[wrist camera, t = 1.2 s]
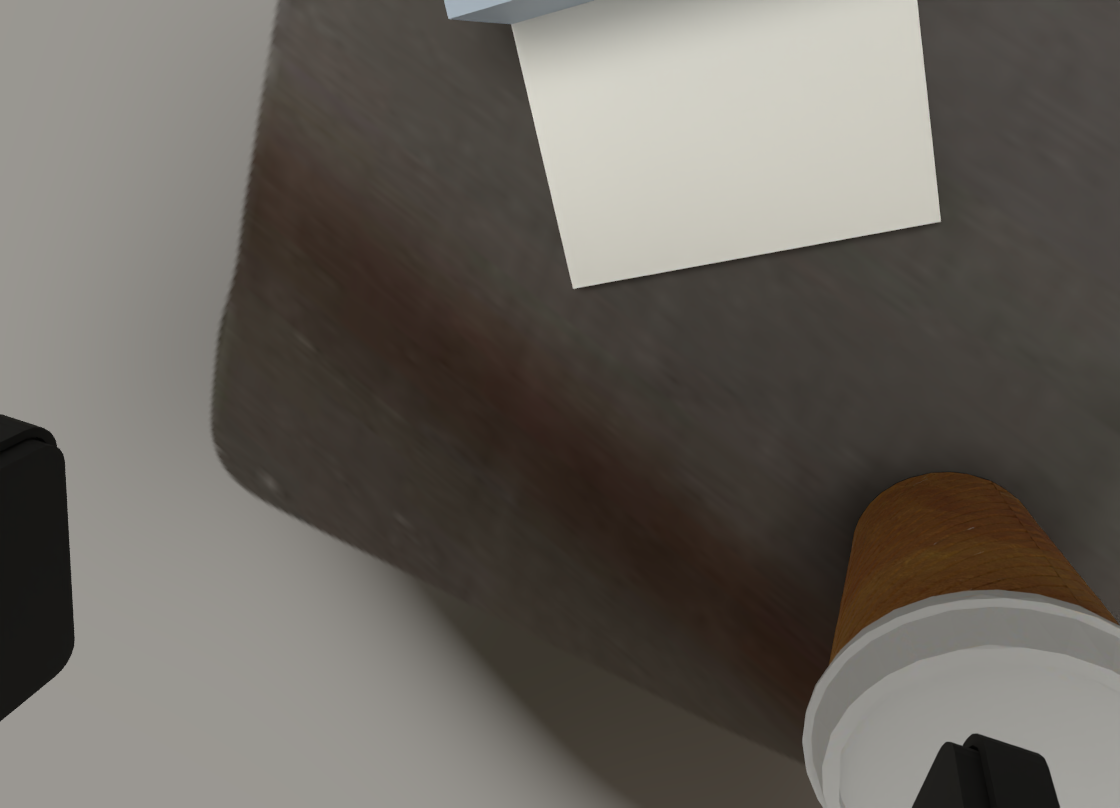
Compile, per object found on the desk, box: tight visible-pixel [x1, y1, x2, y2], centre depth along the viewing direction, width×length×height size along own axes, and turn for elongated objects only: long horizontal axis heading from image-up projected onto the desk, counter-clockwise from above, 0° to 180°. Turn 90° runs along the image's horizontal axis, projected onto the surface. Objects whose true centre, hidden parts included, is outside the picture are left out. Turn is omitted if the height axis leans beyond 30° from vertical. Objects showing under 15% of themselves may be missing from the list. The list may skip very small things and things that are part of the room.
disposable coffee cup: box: [802, 472, 1120, 808], centre depth 27 cm, size 10×10×12 cm
